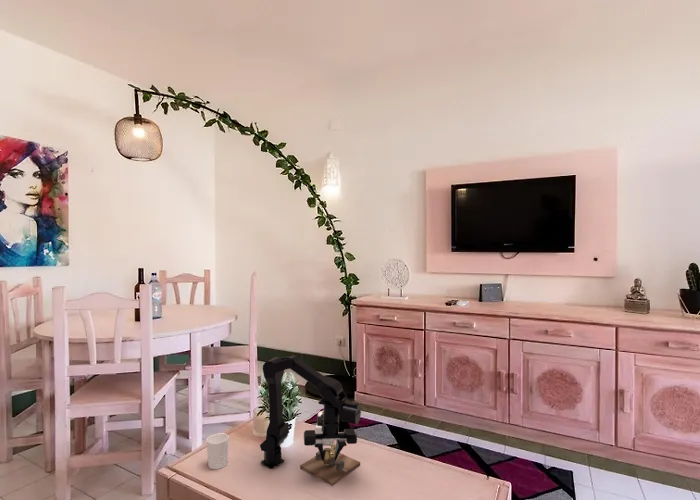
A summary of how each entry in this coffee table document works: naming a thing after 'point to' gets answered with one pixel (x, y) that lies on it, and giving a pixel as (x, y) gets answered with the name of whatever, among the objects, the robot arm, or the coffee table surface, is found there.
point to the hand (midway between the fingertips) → (329, 460)
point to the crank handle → (329, 454)
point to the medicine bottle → (319, 431)
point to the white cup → (217, 450)
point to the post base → (330, 468)
